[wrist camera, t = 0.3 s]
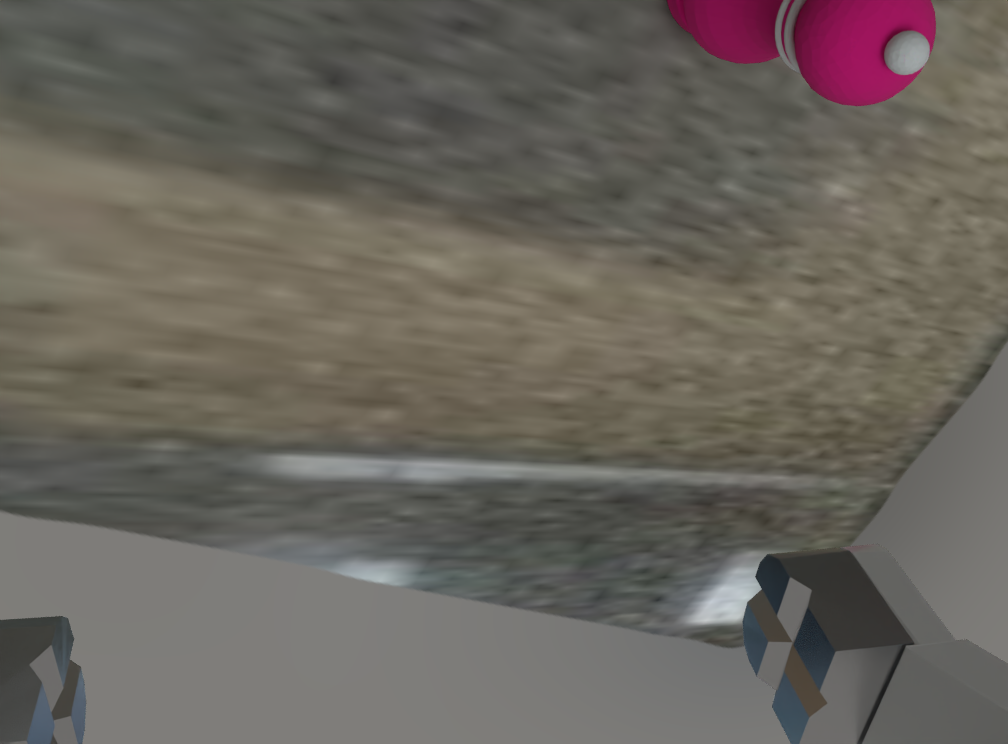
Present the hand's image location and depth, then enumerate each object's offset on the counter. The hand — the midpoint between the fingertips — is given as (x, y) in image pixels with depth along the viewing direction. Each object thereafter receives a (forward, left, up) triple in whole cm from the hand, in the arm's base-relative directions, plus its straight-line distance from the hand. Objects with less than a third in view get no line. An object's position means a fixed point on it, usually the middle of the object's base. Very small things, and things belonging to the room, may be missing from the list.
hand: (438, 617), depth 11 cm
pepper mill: (0, +25, -47) cm, 53 cm away
